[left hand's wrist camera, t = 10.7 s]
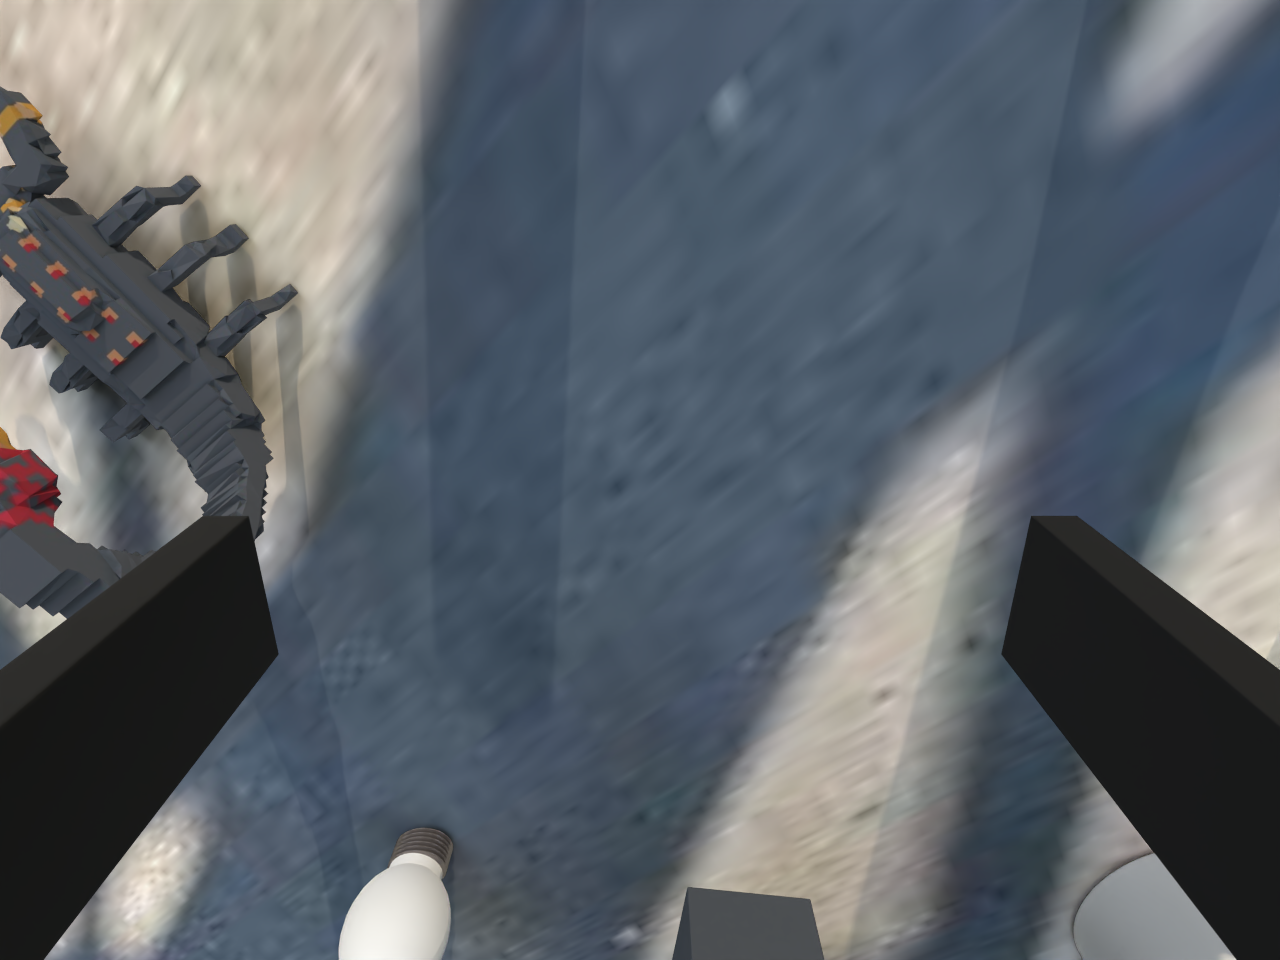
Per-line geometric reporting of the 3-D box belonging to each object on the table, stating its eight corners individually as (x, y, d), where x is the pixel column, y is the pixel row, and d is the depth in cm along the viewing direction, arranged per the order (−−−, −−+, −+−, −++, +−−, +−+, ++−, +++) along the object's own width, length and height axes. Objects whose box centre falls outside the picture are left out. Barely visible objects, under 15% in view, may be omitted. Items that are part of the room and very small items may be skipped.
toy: (255, 547, 45) (23, 766, 28) (-145, 170, 37) (-800, 158, 20) (414, 421, 42) (263, 580, 25) (17, -18, 34) (-592, -216, 17)
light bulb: (459, 806, 53) (415, 955, 43) (479, 875, 55) (442, 1031, 45) (367, 816, 53) (302, 966, 43) (391, 883, 56) (335, 1040, 46)
